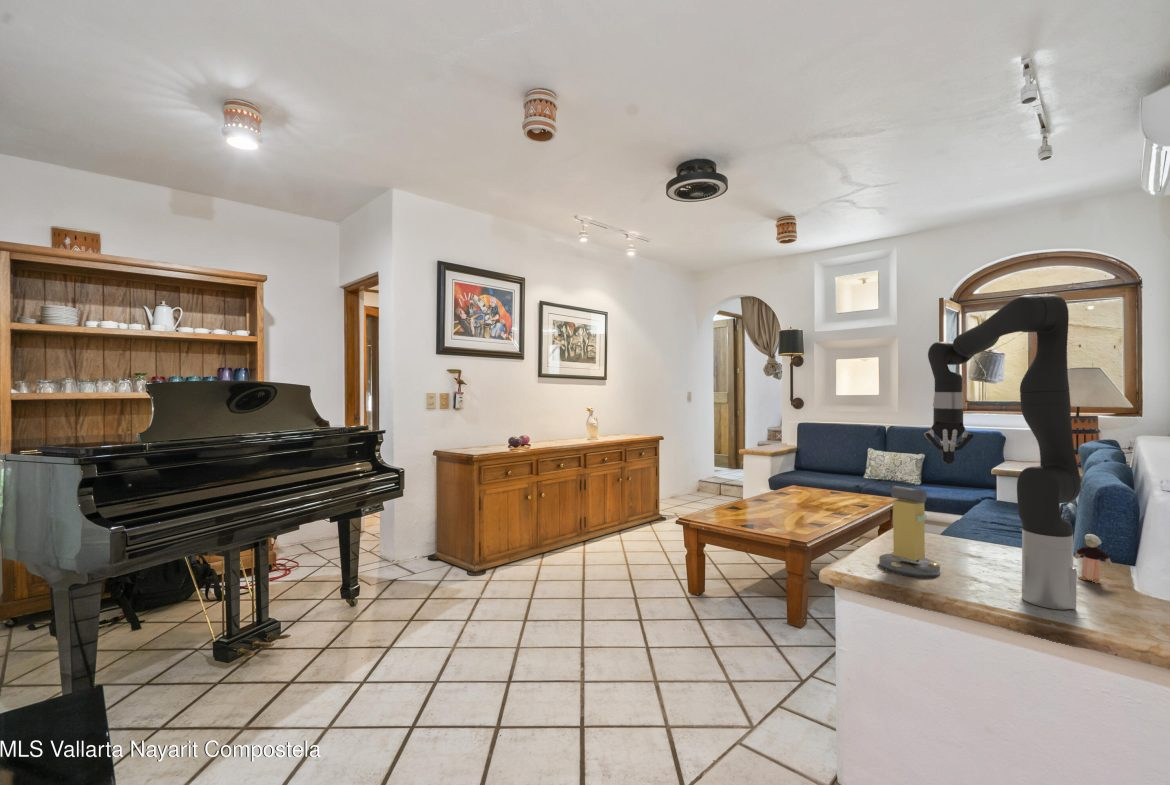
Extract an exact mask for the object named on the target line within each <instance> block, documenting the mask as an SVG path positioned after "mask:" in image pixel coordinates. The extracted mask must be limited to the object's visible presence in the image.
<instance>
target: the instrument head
mask: <svg viewBox="0 0 1170 785" xmlns="http://www.w3.org/2000/svg"><path fill="white" fill-rule="evenodd" d="M890 494H891V495H890V496H891V497H892V498H893V500H892V502H893V503H892V509H893V510H892V512H893V515H892V516H893V517H892V519H893V520H892V523H893V525H892V526H893V530H892V531H893V533H892V534H893V537H892V538H893V552H894V555H895V556H899V557H901V558H905V559H908V560H912V561H916V562H919V560H920V559H923V558H926V555H925V554H926V553H925V552H926V551H925V550H926V548H925V547H926V544H925V543H926V540H925V538H926V536H925V535H926V534H925V533H926V532H925V530H926V529H925V528H926V527H925V521H927V514H926V512H925V503H926V501H927V496H928V494H927V492H926V491H925V490H921V489H916V488H911V487H910V488H909V487H903V486H898V485H893V487H892V488H891V491H890Z"/></svg>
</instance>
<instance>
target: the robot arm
mask: <svg viewBox="0 0 1170 785" xmlns="http://www.w3.org/2000/svg"><path fill="white" fill-rule="evenodd" d="M1069 314H1070V313H1069V307H1068V304H1067V301H1066V300H1065V299H1064V297H1062V296H1060V295H1059V294H1024V295H1020V296H1017V297H1016V298H1013V299H1012V300H1010V301H1009V302H1008V303H1006V304H1004V306H1003V307H1001V308H1000V309H999V310H998V311H996V312H995V313H993V314H992V315H990V316H989V317H988V318H987V319H985V320H984V321H982V322H981V323H979V324H978V325H976V326H974V327H972V328H970V329H968V330H966V331H964V332H962V333H961V334H958V335H957V336H956V337H955V338H954V339H953V341H936V342H934V343H933V344H931V345H930V347H929V348H928V352H927V358H928V361H929V362H928V363H929V364H930V368H931V372H932V375H933V379H934V395H933V403H932V406H933V423H932V426H931V429H930V430H928V431H927V432H926V431H925V432H924V433H923V436H924V437H925V438H926V439H927V440H928V442H929V443H931V445H932V446H933V447H934V448H935V449H937V450H940V451H941V461H942V462H943V464H946V465H951V464H952V463H954V461H955V452H956V451H961V450H962V449H964V447H965V446H966V445H967V444H968V443H969V442H970V441H971V440H972V439H973V438H974V435H973V434H972V433H970V432H969V431H967V430H966V427H965V425H964V397H963V376H962V375H961V374H960V373H958V372H954V371H951V370H950V368H949V366H951V365H952V366H956V365H957V366H958V365H963V364H965V363H968V362H969V361H970V360H971V359H972V358H974V356H975V355H979V353H983V352H984V351H987V350H989V349H990V348H992V347H993V346H995V345H996V344H997V342H998V341H999V339H1000V337H1003V336H1005V335H1009V334H1014V333H1020V332H1021V333H1036V342H1037V343H1036V353H1035V356H1034V359H1033V361H1032V362H1031V364H1030V366H1029V367H1028V368H1027V371H1026V372H1025V374H1024V375H1023V377H1022V380H1021V382H1020V385H1019V386H1020V387H1019V397H1020V398H1019V399H1020V408H1021V409H1020V410H1021V413H1022V416H1023V419H1024V420H1025V422H1026V424H1027V426H1028V428H1029V429H1030V430H1031V432H1032V434H1033V436H1034V437H1035V439H1036V442H1037V444H1038V447H1039V448H1038V449H1039V457H1040V459H1039V460H1040V462H1039V463H1040V464H1039V465H1036V466H1035V465H1034V466H1029V467H1026V468H1024V469H1022V471H1021V472H1020V473H1019V475H1018V477H1017V481H1016V497H1017V500H1016V501H1017V513H1018V517H1019V518H1020V521H1021V525H1022V526H1021V527H1022V528H1021V532H1022V533H1021V537H1022V538H1021V542H1022V543H1021V598H1022V600H1024V601H1025V602H1027V603H1030V604H1032V605H1034V606H1038V607H1042V608H1045V609H1052V610H1061V611H1062V610H1064V611H1065V610H1077V579H1078V576H1077V569H1076V568H1075V567H1074V566H1073V567H1072V538H1073V539H1074V533H1073V532H1074V530H1073V529H1074V528H1073V524H1072V523H1071V522H1070V521H1068V520H1066V519H1064V518H1063V517H1062V516H1061V507H1060V505H1061V504H1068V503H1071V502H1073V501H1075V500H1076V499H1077V498H1078V497H1079V496H1080V494H1081V489H1082V482H1081V476H1080V470H1079V466H1078V461H1077V456H1076V451H1075V445H1074V435H1073V426H1072V414H1071V410H1072V408H1071V406H1072V404H1071V395H1070V383H1069V371H1068V339H1069V338H1068V337H1069V336H1068V335H1069V320H1070V318H1069ZM935 436H936V437H937V438H938V439H939V441H940V444H939V442H938V441H937V440H936V439H935ZM960 437H961V439H960V440H959V438H960ZM957 440H959V441H958V443H957Z"/></svg>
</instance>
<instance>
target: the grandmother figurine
mask: <svg viewBox="0 0 1170 785" xmlns="http://www.w3.org/2000/svg"><path fill="white" fill-rule="evenodd" d="M1084 540H1085V545H1084V546H1082V547H1080V548H1079V549H1077V550H1076V553H1075V555H1073V558H1075V559H1079V558H1080V557H1081V556H1082V555H1083V558H1082V563H1081V564H1082V566H1081V575H1079V576H1077V579H1078V578H1080V579H1079V580H1081V579H1083V580H1082V581H1089V582H1090V581H1092V582H1091V583H1093V582H1095V583H1094V584H1097V583H1100V581H1101V575H1102V564H1101V559H1102V560H1104V561H1105V562H1106V565H1108V566H1112V565H1113V562H1112V561H1111V558H1110V555H1109V554H1107V553H1106V552H1105V551H1103V550H1101V549H1100V548H1098V546H1099V545H1101V544H1102V540H1101V539H1100V538H1099V536H1097V535H1095V534H1093V533H1091V534H1090V533H1088V534H1085V535H1084ZM1088 579H1090V580H1088ZM1100 584H1101V583H1100Z"/></svg>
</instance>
